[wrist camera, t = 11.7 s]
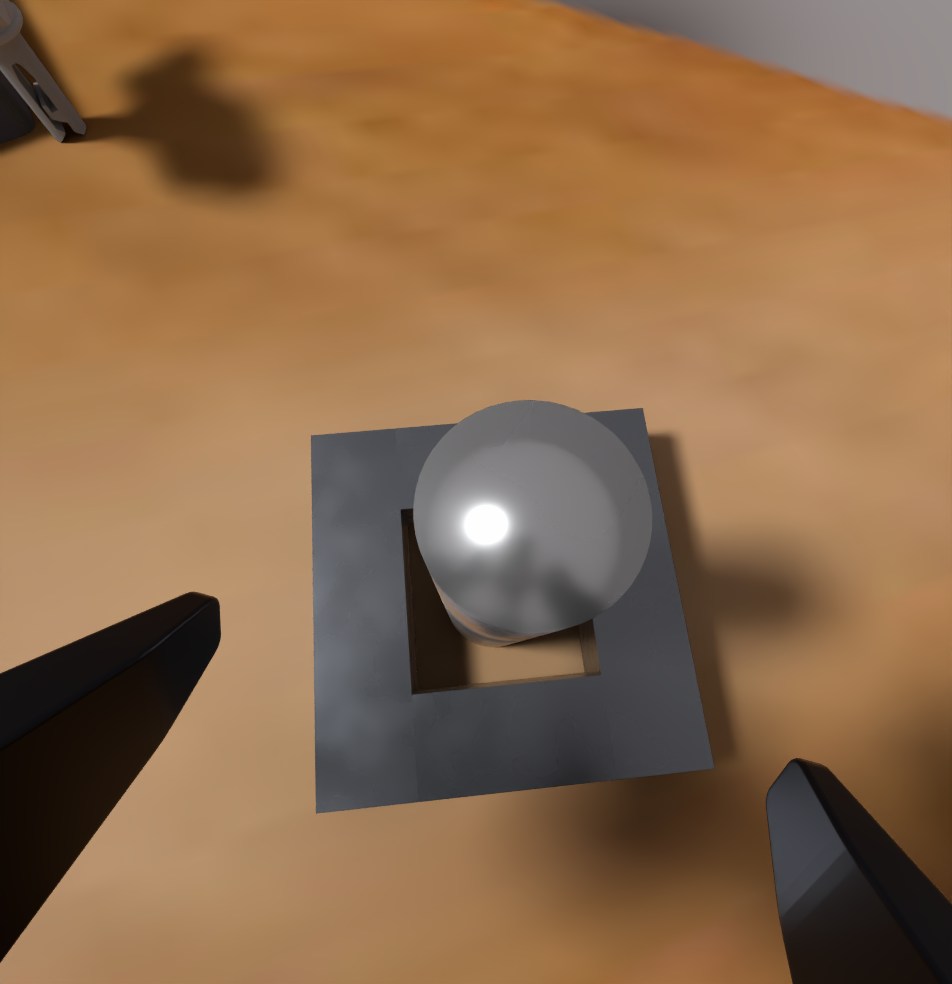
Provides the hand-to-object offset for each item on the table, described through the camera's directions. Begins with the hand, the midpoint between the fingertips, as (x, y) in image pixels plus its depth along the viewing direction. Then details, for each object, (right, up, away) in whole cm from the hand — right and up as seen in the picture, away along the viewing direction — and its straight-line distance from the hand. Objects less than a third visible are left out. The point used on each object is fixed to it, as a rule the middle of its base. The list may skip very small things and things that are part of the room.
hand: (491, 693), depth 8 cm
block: (0, -1, +12) cm, 12 cm away
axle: (0, -1, +12) cm, 12 cm away
